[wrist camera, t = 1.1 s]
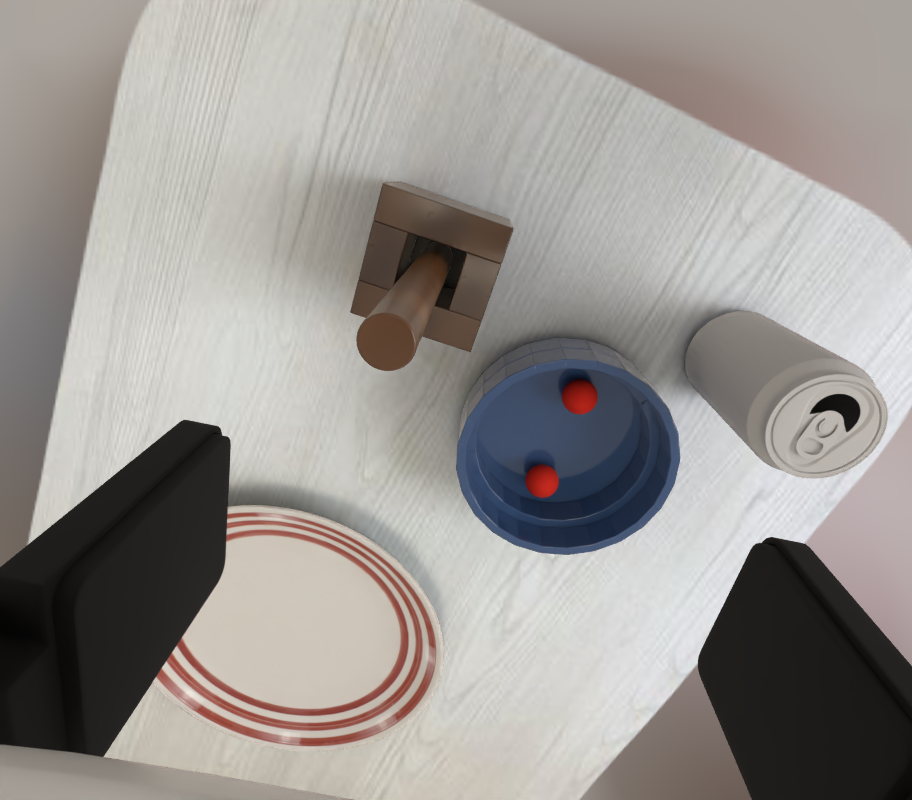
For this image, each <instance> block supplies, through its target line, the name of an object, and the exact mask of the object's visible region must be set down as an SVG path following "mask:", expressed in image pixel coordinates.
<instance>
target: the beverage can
mask: <svg viewBox="0 0 912 800" xmlns="http://www.w3.org/2000/svg"><path fill="white" fill-rule="evenodd" d="M685 368H686V373H687V376H688V379H689V381H690V383H691V384H692V386H693V387H694V388H695V389H696V391H697V392H698V393H699V394H700V395H701V396H702V397H703V398H704V399H705V400H706V401H707V402H708V403H709V405H710V406H711V407H712V408H713V409H714V410H715V411H716V412H717V413H718V414H719V415H720V416H721V417H722V419H723V420H724V421H725V422H726V423H727V424H728V425H729V426H730V427H731V428H732V429H733V430H734V431H735V432H736V434H737V435H738V436H739V437H740V438H741V439H742V440H743V441H744V442H745V443H746V444H747V445H748V446H749V448H750V449H751V450H752V451H753V452H754V453H755V454H756V455H757V456H758V457H759V458H760V459H761V460H762V461H763V462H765V463H766V464H768V465H770V466H771V467H774V468H776V469H779V470H782V471H785V472H787V473H789V474H792V475H794V476H798V477H802V478H824V477H830V476H834V475H837V474H840V473H842V472H845V471H847V470H849V469H851V468H853V467H854V466H856V465H857V464H859V463H860V462H862V461H863V460H864V459H865V458H866V457H868V456H869V455H870V454H871V453H872V452H873V450H874V449H875V448H876V447H877V445H878V444H879V442H880V440H881V439H882V437H883V435H884V432H885V429H886V426H887V419H888V412H887V405H886V403H885V400H884V398H883V396H882V394H881V393H880V391H879V390H878V389H877V388H876V386H875V384H874V382H873V380H872V379H871V377H870V376H869V375H868V374H867V373H866V372H865V371H864V370H863V369H861V368H860V367H858V366H856V365H855V364H853V363H851V362H849V361H847V360H845V359H843V358H842V357H840V356H838V355H836V354H834V353H832V352H830V351H829V350H827V349H825V348H823V347H821V346H819V345H817V344H815V343H814V342H812V341H810V340H808V339H806V338H804V337H802V336H801V335H799V334H797V333H795V332H793V331H791V330H789V329H788V328H786V327H784V326H782V325H780V324H778V323H776V322H774V321H773V320H771V319H769V318H767V317H765V316H763V315H761V314H758V313H755V312H749V311H736V312H730V313H726V314H723V315H721V316H718V317H716V318H714V319H713V320H711V321H709V322H708V323H707V324H705V325H704V326H703V327H702V328H701V329H700V330H699V331H698V332H697V333H696V335H695V336H694V337H693V339H692V341H691V343H690V345H689V347H688V350H687V353H686V359H685Z"/></svg>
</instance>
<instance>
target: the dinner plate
mask: <svg viewBox="0 0 912 800" xmlns="http://www.w3.org/2000/svg"><path fill="white" fill-rule="evenodd" d="M443 662H444V644H443V636H442V631H441V627H440V623H439V620H438V617H437V615H436V612H435V610H434V608H433V606H432V604H431V602H430V601H429V599H428V597H427V595H426V594H425V592H424V591H423V589H422V588H421V586H420V585H419V584H418V582H417V581H416V580H415V579H414V577H413V576H412V575H411V574H410V573H409V572H408V571H407V570H406V568H405V567H404V566H403V565H401V564H400V563H399V562H398V561H397V560H396V559H395V558H394V557H393V556H392V555H390V554H389V553H388V552H387V551H385V550H384V549H383V548H382V547H380V546H379V545H377V544H376V543H374V542H373V541H371V540H370V539H368V538H367V537H365V536H364V535H362V534H360V533H358V532H356V531H354V530H352V529H350V528H348V527H346V526H344V525H342V524H340V523H337V522H335V521H333V520H330V519H327V518H324V517H322V516H318V515H315V514H312V513H308V512H304V511H300V510H296V509H290V508H283V507H277V506H266V505H239V506H229V507H228V515H227V537H226V559H225V566H224V570H223V573H222V576H221V578H220V580H219V582H218V584H217V585H216V587H215V588H214V590H213V591H212V593H211V594H210V596H209V597H208V599H207V600H206V602H205V603H204V605H203V606H202V608H201V609H200V611H199V612H198V614H197V616H196V617H195V619H194V620H193V622H192V623H191V625H190V626H189V628H188V629H187V631H186V632H185V634H184V635H183V637H182V638H181V640H180V641H179V643H178V644H177V646H176V647H175V649H174V650H173V652H172V653H171V655H170V657H169V658H168V660H167V661H166V663H165V664H164V666H163V667H162V669H161V670H160V672H159V673H158V675H157V676H156V678H155V679H154V681H153V683H154V684H155V685H156V686H157V687H158V688H159V690H160V691H161V692H162V693H163V694H165V695H166V696H167V697H168V698H169V699H170V700H171V701H173V702H174V703H175V704H176V705H178V706H179V707H180V708H182V709H183V710H184V711H186V712H187V713H189V714H190V715H192V716H193V717H195V718H196V719H198V720H200V721H202V722H203V723H205V724H207V725H209V726H211V727H213V728H215V729H217V730H219V731H221V732H224V733H226V734H228V735H231V736H233V737H236V738H239V739H242V740H245V741H248V742H251V743H255V744H259V745H263V746H267V747H272V748H278V749H284V750H292V751H306V752H325V751H336V750H344V749H349V748H355V747H359V746H363V745H366V744H369V743H372V742H375V741H378V740H380V739H382V738H384V737H387V736H389V735H391V734H393V733H394V732H396V731H398V730H399V729H401V728H402V727H403V726H405V725H406V724H407V723H409V722H410V721H411V720H412V719H414V718H415V717H416V716H417V715H418V714H419V713H420V712H421V711H422V710H423V708H424V707H425V706H426V705H427V703H428V702H429V700H430V699H431V697H432V696H433V694H434V692H435V690H436V688H437V686H438V683H439V680H440V677H441V673H442V668H443Z"/></svg>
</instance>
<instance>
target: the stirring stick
mask: <svg viewBox="0 0 912 800" xmlns="http://www.w3.org/2000/svg"><path fill="white" fill-rule="evenodd" d="M452 262H453V253H452V251H451V249H450V247H449V246H447V245H444V244H441V243H438V242H433V243H431V244H429V245H428V246H427V247H426V248H425V249H424V250H423V252H422V253H421V254H420V255H419V256H418V257H417V259H416V260H415V261H414V262H413V263H412V265H411V266H410V267H409V268H408V269H407V271H406V272H405V273H404V274H403V275H402V276H401V278H400V279H399V280H398V281H397V282H396V284H395V285H394V286H393V287H392V288H391V289H390V291H389V292H388V293H387V294H386V295H385V297H384V298H383V299H382V300H381V301H380V302H379V304H378V305H377V306H376V307H375V308H374V310H373V311H372V312H371V313H370V314H369V315H368V317H367V318H366V319H365V320H364V321H363V323H362V324H361V325H360V327H359V329H358V332H357V340H356V341H357V347H358V350H359V353H360V355H361V356H362V358H363V359H364V360H365V361H366V362H367V363H368V364H369V365H371V366H372V367H374V368H377V369H379V370H384V371H393V370H398V369H400V368H402V367H404V366H405V365H407V364H408V363H409V362H410V361H411V360H412V358H413V356H414V354H415V352H416V349H417V347H418V345H419V342H420V340H421V337H422V335H423V332H424V330H425V328H426V325H427V323H428V320H429V318H430V315H431V313H432V311H433V308H434V306H435V303H436V301H437V298H438V296H439V294H440V291H441V289H442V286H443V284H444V281H445V279H446V277H447V274H448V272H449V269H450V267H451V264H452Z"/></svg>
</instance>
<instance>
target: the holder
mask: <svg viewBox="0 0 912 800" xmlns="http://www.w3.org/2000/svg"><path fill="white" fill-rule="evenodd" d="M512 232H513V226H512V224H511V222H510V220H509V219H506V218H504V217H501V216H498V215H495V214H492V213H489V212H486V211H483V210H480V209H478V208H475V207H472V206H469V205H466V204H463V203H460V202H457V201H455V200H452V199H449V198H446V197H443V196H440V195H437V194H434V193H431V192H429V191H426V190H423V189H420V188H417V187H414V186H411V185H408V184H406V183H403V182H393V183H383V185H382V189H381V193H380V197H379V201H378V205H377V208H376V212H375V216H374V221H373V224H372V228H371V232H370V236H369V240H368V244H367V248H366V252H365V256H364V260H363V264H362V268H361V272H360V276H359V280H358V284H357V288H356V292H355V295H354V299H353V303H352V307H351V311H350V312H351V313H353V314H356V315H359V316H362V317H365V318H367V317H368V315H369V314H370V313H371V312H372V311H373V310H374V308H375V307H376V306H377V305H378V304H379V302H380V301H381V300H382V299H383V298H384V297H385V295H386V294H387V293H388V292H389V291H390V289H391V288H392V287H393V286H394V285H395V284H396V282H397V281H398V280H399V279H400V278H401V276H402V275H403V274H404V273H405V272H406V271H407V269H408V266H409V262H410V259H411V255H412V252H413V248H414V245H415V241H416V238H417V235H418V236H421V237H424V238H427V239H430V240H432V241H435V242H438V243H441V244H444V245H447V246H450V247H453V248H456V249H459V250H462V251H465V252H467V253H466V256H465V259H464V262H463V265H462V268H461V271H460V275H459V278H458V281H457V284H456V287H455V290H453V289H450V288H447V287H444V286H442V289H441V291H440V294H439V296H438V298H437V301H436V303H435V306H434V308H433V311H432V313H431V315H430V318H429V320H428V323H427V325H426V328H425V330H424V332H423V335H422V336H423V337H426V338H429V339H432V340H435V341H438V342H441V343H444V344H447V345H450V346H453V347H456V348H459V349H462V350H466V351H469V352H471V349H472V347H473V344H474V341H475V338H476V335H477V332H478V329H479V327H480V324H481V320H482V318H483V315H484V312H485V309H486V307H487V304H488V301H489V298H490V295H491V292H492V289H493V287H494V284H495V281H496V278H497V275H498V272H499V269H500V267H501V263H502V261H503V258H504V255H505V252H506V249H507V247H508V244H509V241H510V238H511V235H512Z"/></svg>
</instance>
